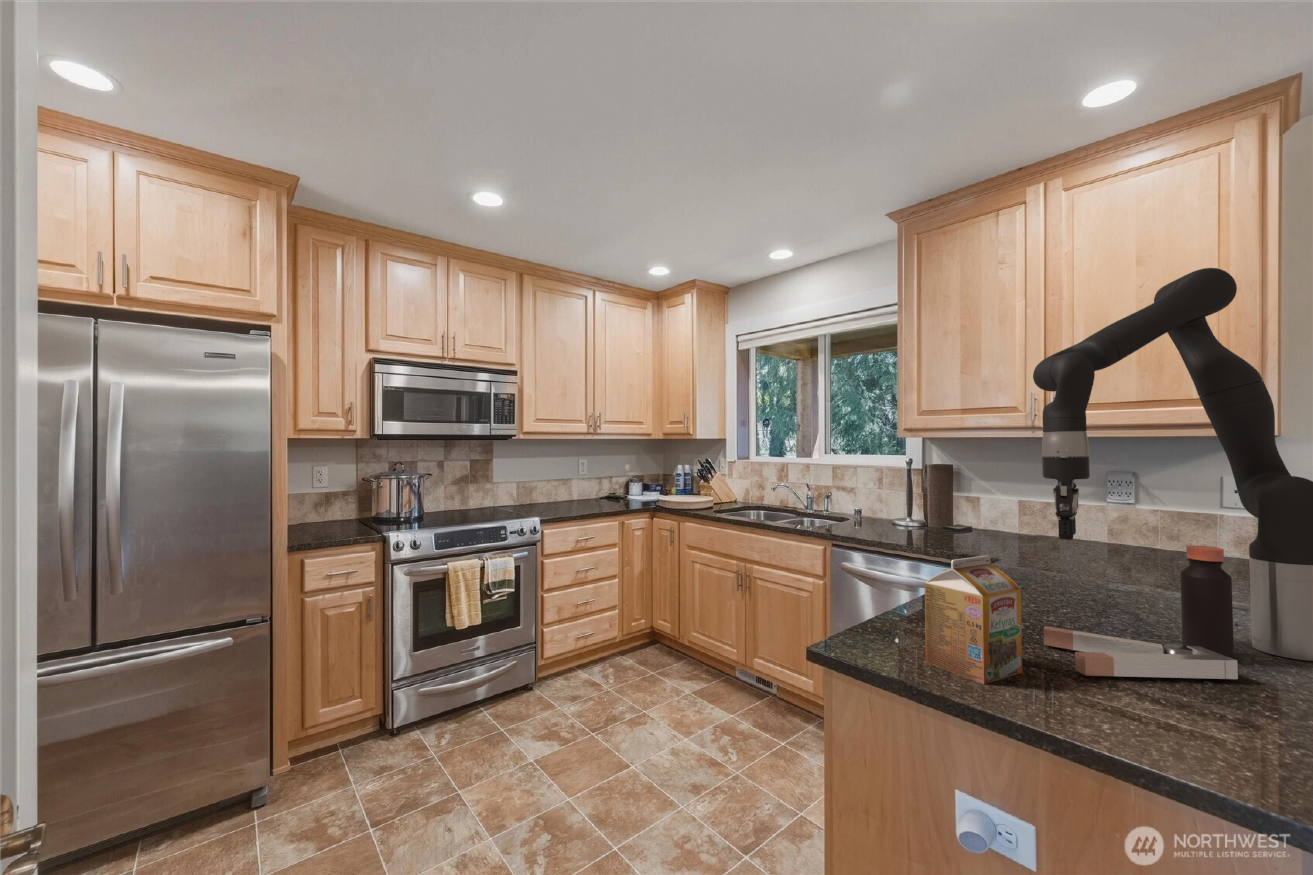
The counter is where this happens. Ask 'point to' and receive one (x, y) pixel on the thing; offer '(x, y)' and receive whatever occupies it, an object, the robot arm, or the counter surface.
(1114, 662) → the tongs fixed leg
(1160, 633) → the counter surface
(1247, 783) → the counter surface
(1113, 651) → the leg
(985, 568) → the milk carton
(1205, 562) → the bottle
